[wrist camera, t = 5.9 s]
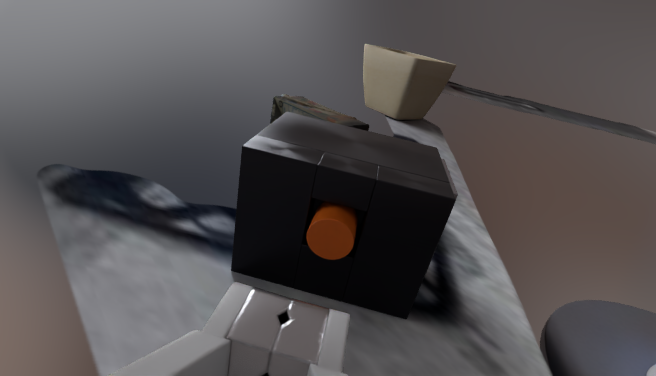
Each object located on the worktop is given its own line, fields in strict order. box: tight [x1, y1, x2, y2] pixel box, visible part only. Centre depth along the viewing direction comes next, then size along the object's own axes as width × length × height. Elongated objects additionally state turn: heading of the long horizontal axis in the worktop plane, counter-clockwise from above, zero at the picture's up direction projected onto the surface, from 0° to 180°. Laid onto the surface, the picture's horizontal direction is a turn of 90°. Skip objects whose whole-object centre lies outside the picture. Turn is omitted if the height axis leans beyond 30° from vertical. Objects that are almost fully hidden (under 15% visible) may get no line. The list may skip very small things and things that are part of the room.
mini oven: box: [231, 112, 458, 319], centre depth 33 cm, size 17×12×12 cm
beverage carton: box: [270, 94, 369, 131], centre depth 65 cm, size 8×19×7 cm, turn 45°
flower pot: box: [363, 44, 456, 120], centre depth 99 cm, size 19×19×17 cm
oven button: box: [307, 201, 358, 260], centre depth 27 cm, size 4×3×4 cm
